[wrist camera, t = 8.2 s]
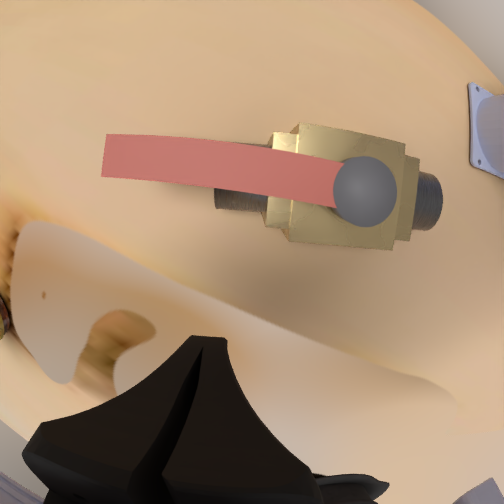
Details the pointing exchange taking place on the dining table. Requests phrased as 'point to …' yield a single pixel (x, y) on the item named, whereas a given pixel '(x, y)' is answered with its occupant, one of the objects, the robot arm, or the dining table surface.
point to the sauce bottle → (3, 319)
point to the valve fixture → (323, 217)
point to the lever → (257, 173)
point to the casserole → (351, 489)
